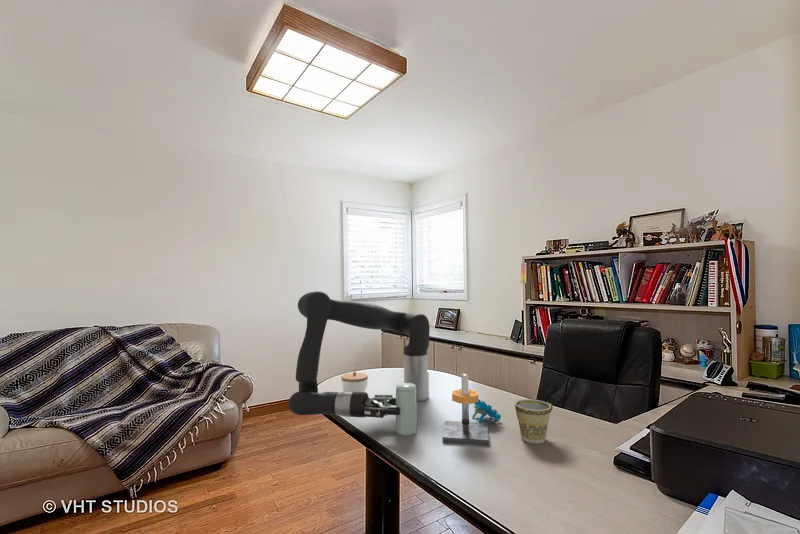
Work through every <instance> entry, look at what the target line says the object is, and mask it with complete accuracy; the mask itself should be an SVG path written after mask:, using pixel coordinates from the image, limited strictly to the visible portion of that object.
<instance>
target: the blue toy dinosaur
mask: <svg viewBox="0 0 800 534" xmlns="http://www.w3.org/2000/svg"><path fill="white" fill-rule="evenodd" d="M473 404H474V413H473V414H472V416H471V418H472V419H474V418H475V417H476V415H477V414H479V415H480V417H479V419H478V420H477V423H483V422H482V421H484V418H485V416H487V415H488V417H489V418H493V419H494V420H497V421H500V420H501V419H502V416H501V414H499V413H498V410H496V409H493V406H492V405H490V404H488V405H487V403H486V402H485V401H484V400H480V398H478V402H476V403H473Z"/></svg>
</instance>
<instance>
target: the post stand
mask: <svg viewBox="0 0 800 534" xmlns="http://www.w3.org/2000/svg"><path fill="white" fill-rule="evenodd" d="M461 389H462V394H469V391H468V389H469V374H468V373H461ZM469 406H470V404H462V403H461V421H454V420H445V421H444V427H443V432H442V443H444V444H459V445H460V444H461V445H473V446H474V445H475V446H477V445H478V446H490V438H489V437H490V436H489V431H488V429H489V428H488V423H487V422H481V423H479V422H478V421H477V422H476V421H474V422H473V421H472V422H471V421H470V414H469V413H470V409H469V408H470V407H469Z"/></svg>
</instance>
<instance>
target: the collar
mask: <svg viewBox="0 0 800 534" xmlns="http://www.w3.org/2000/svg"><path fill="white" fill-rule="evenodd" d="M468 391H469V394H462V388H460V389H456V390H452V393H451V397H452V399H451V401H452V402H454V403H457V404H461V405H462V404H469V405H471V404H474V403H476V402H478V399H479V392H478V391H476V390H473V389H469V388H468Z"/></svg>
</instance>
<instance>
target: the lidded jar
mask: <svg viewBox="0 0 800 534" xmlns="http://www.w3.org/2000/svg"><path fill="white" fill-rule="evenodd" d="M340 378H341V387H342V390H343V391H342V392H366V391H367V389H368V381H369V375H368V374H367V373H364V372H357V371H353V372H348V373H344V374H343V375H341V376H340Z"/></svg>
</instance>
